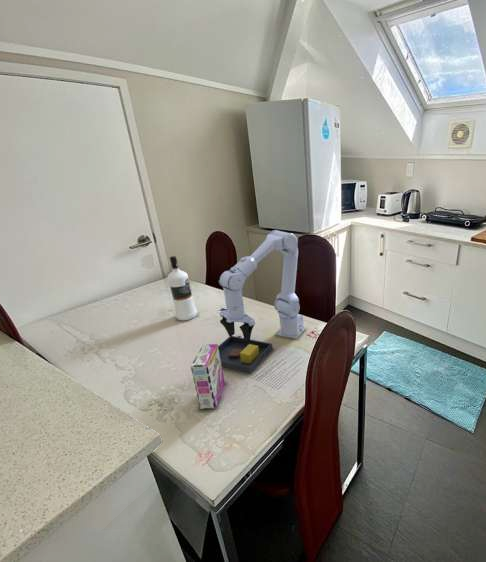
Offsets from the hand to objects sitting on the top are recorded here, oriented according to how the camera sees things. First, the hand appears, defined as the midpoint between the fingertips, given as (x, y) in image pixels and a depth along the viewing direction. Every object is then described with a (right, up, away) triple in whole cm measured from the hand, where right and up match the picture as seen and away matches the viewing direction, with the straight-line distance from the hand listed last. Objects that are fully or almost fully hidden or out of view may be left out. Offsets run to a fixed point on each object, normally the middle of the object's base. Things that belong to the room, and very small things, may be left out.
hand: (239, 337), depth 114 cm
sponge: (+3, -8, +3) cm, 9 cm away
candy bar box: (-4, -17, -13) cm, 22 cm away
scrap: (-3, -8, +5) cm, 10 cm away
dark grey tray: (-1, -8, +5) cm, 10 cm away
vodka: (-36, +4, +34) cm, 50 cm away
